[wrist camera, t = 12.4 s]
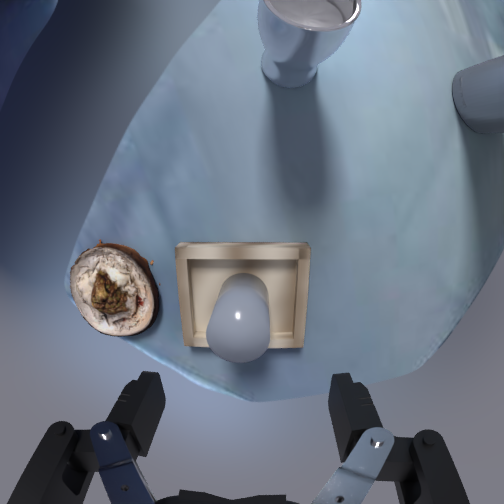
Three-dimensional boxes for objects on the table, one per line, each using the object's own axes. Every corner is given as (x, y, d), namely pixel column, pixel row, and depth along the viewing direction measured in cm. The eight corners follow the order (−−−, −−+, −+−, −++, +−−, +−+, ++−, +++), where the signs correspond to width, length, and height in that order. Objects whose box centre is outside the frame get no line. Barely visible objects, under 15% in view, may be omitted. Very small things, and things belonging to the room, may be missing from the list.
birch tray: (306, 242, 33) (310, 248, 30) (300, 337, 36) (303, 347, 33) (180, 242, 33) (174, 247, 30) (188, 335, 36) (184, 345, 34)
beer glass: (317, 97, 28) (363, 46, 14) (252, 86, 28) (249, 23, 14) (323, 44, 26) (364, -27, 12) (261, 33, 26) (264, -47, 12)
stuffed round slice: (179, 341, 37) (171, 359, 33) (84, 333, 37) (70, 348, 33) (165, 228, 33) (154, 237, 29) (63, 233, 33) (44, 241, 29)
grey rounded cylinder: (269, 273, 33) (271, 309, 24) (267, 318, 34) (268, 363, 25) (219, 272, 33) (204, 307, 24) (220, 316, 34) (207, 361, 26)
